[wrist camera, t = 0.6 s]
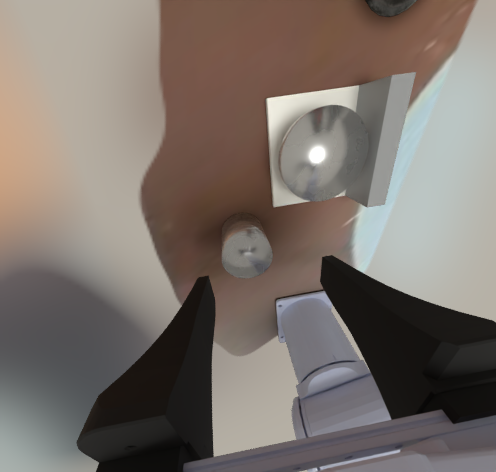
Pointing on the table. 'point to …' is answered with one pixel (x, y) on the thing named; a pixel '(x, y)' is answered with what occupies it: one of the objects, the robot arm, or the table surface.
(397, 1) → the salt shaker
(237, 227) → the cylinder
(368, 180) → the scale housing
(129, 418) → the robot arm
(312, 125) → the pan
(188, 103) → the table surface
